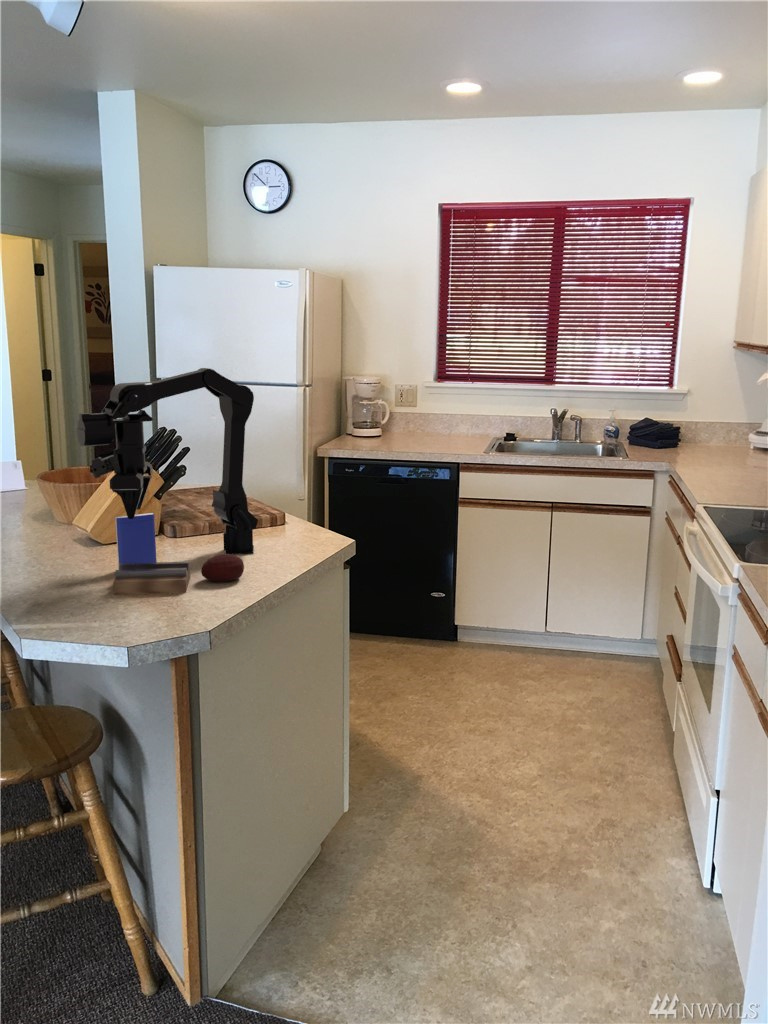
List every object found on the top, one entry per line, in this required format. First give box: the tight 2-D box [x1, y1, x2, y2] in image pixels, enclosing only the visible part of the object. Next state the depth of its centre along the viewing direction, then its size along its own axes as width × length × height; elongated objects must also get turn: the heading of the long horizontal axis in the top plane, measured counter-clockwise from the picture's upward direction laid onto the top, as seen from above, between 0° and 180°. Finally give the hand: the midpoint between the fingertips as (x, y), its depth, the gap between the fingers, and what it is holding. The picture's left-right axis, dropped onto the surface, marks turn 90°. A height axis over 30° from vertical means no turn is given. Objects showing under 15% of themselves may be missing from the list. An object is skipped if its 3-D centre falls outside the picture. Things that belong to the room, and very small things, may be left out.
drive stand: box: [113, 561, 191, 596], centre depth 164 cm, size 14×10×4 cm
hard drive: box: [115, 512, 158, 570], centre depth 175 cm, size 2×8×12 cm, turn 123°
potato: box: [200, 553, 245, 583], centre depth 169 cm, size 8×9×6 cm
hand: (134, 513), depth 174 cm, fingers open, 9 cm apart
